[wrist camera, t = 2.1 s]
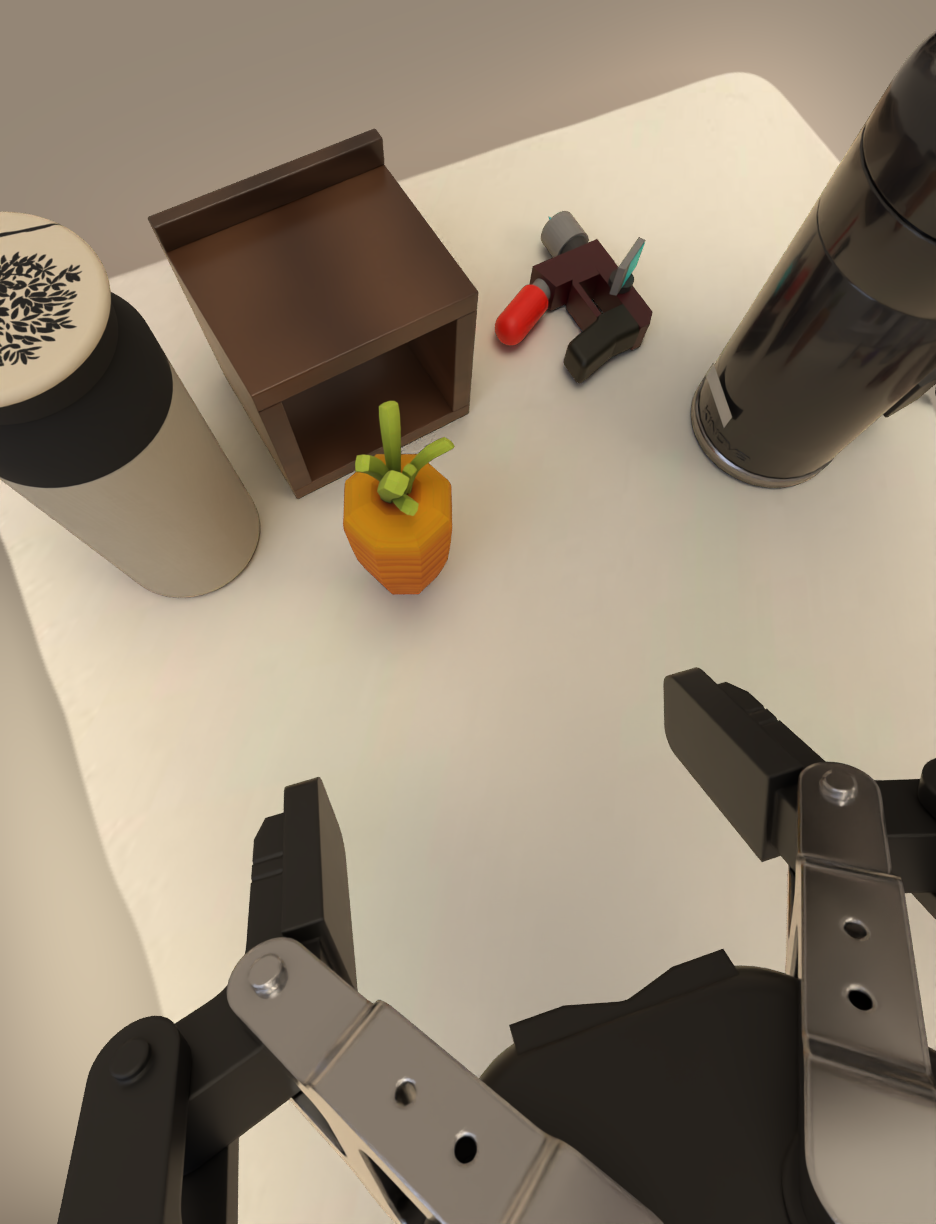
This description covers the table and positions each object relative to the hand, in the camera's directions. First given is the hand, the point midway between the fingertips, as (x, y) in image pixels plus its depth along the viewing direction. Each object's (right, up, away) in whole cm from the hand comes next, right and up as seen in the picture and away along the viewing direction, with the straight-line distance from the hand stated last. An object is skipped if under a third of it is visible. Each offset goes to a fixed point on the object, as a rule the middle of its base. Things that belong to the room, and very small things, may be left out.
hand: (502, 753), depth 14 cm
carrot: (-4, +5, +23) cm, 24 cm away
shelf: (-8, +17, +26) cm, 32 cm away
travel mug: (-17, +8, +23) cm, 30 cm away
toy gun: (+5, +23, +29) cm, 37 cm away
